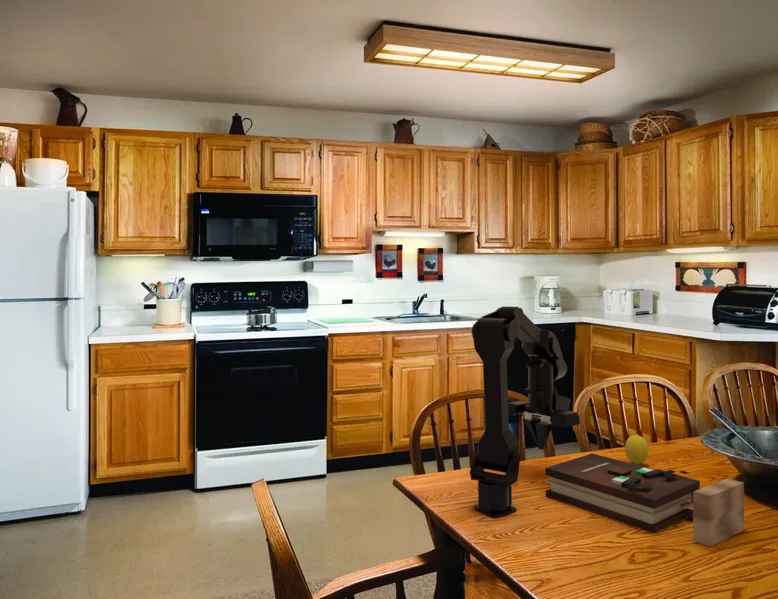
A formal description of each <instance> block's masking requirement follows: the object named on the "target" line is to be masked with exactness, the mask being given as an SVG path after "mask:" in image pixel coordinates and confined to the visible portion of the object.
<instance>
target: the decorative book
mask: <svg viewBox="0 0 778 599" xmlns="http://www.w3.org/2000/svg"><path fill="white" fill-rule="evenodd" d="M676 473H677V470H673V469H669V470H668V469H667V470H662V469H659V468H656V469H655V468H651V467H648V466H642V465H641V464H639V465H636V464H634V463H633V462H627V461H625V460H624V461H623V460H619V459H616V458H612V457H608V456H603V455H599V454H595V453H589V454H586V455H582V456H580V457H576V458H572V459H569V460H566V461H563V462H559V463H557V464H553V465H550V466H546V467H545V476H547V477H550V479H549V480H546V481H544V482H545V483H548V484H550V488H549V489H546V490H545V497H547V498H550V499H551V500H555V501H558V502H561V503H565V504H567V505H569V506H573V507H576V508H578V509H581V510H584V511H587V512H590V513H594V514H595V515H599V516H602V517H604V516H605V518H607V517H608V519H610V518H611V520H613V519H614V520H613V521H616V520H617V521H616V522H619V521H620V523H622V524H626V525H628V526H631V527H633V526H634V528H636V527H637V528H636V529H639V528H640V530H642V529H643V531H645V530H646V531H645V532H648V531H649V533H651V532H652V533H651V534H654V533H655V534H657V533H659V532H661V531H663V530H665V529H667V528H669V527H671V526H674V525H675V524H677V522H678V523H679V521H680V522H682V521H684V520H686V519H688V518H690V517H692V516H693V492H694V491H696V490H699V489H701V481H700V480H699V479H694V478H690V477H686V476H682V475H679V474H676ZM678 473H680V474H683V475H687V474H690V473H691V472H689V471H686V470H680V471H678ZM691 515H692V516H691ZM689 516H690V517H689ZM687 517H688V518H687ZM685 518H686V519H685ZM683 519H684V520H683ZM681 520H682V521H681ZM668 526H669V527H668ZM666 527H667V528H666ZM662 529H663V530H662ZM660 530H661V531H660ZM658 531H659V532H658ZM656 532H657V533H656Z"/></svg>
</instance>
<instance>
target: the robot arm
mask: <svg viewBox="0 0 778 599" xmlns="http://www.w3.org/2000/svg"><path fill="white" fill-rule="evenodd" d="M471 336H472V339H473V341H472V342H473V348H474V350H475V352H476V353H477V355H478V357H479V358H480V360H481V361H482V373H483V374H482V377H483V399H484V402H483V403H484V404H483V406H484V431H483V433H482V435H481V437H480V438H479V440H478V442H477V450H476V454H475V456H474V459H473V461H472V465H471V467H470V469H469V476H470V480H471V481H477V493H478V494H477V497H478V498H477V500H478V504H475V505H473V506H472V507H473V509H474V510H476V511H478V512H479V513H482V514H484V515H487V516H488V517H491V518H494V519H495V518H499V517H501V516H504V515H508V514H511V513H513V512H516V511H517V507H514V506H512V505H513V504H512V503H513V501H512V500H513V499H512V498H513V496H512V495H513V493H512V490H513V489H512V488H513V487H512V485H514V484H516V483H517V482H518V479H519V473H520V464H521V456H520V450H519V441H520V438H519V436H518V435H517V434H515V433H512V431H511V429H510V424H509V423H510V422H509V416H511V417H512V416H513V417H514V416H516V415H517V413H521V414H523V415H524V416H523V417H524V418H522V422H523V423H524V424H525V425H526V427H527V429H528V430H529V432H530V434H531V436H532V439H533V441H534V442H535V444H536V447H537V449H539V450H544V449H545V447H546V444H547V442H548V439H549V436H550V434H551V431H552V430H553V428H554V427H558V428H564V429H565V428H569V427H573V426H577V425H580V424H581V416H580V415H579V413H578V412H577V411H573V410H569V409H570V403H571V399H570V398H568V397H566V396H563V395H559V394H558V390H557V389H558V388H555V387H554V381H556V380H558V379H561V378H563V377H564V376H565V375H566V374H567V372H568V365H567V363H566V361H565V360H564V359H563V358H564V356H563V353H562V350H561V347H560V343H559V340H558V338H557V337H556V335H555V333H554V332H553V331H550V330H547V329H541V328H539V327H538V326H537V325H536V324H535V323H534V321H532V320H531V318H529V317H528V316H527V315H526V314H525V313H524V310H523V308H522V307H519V306H504V305H503V306H500V307H498V308H497V309H495V311H493V312H490V313H487V314H485V315H483V316H481V317H480V318H478V319H477V321H476V322H474V323H473V325H472V327H471ZM517 338H518V340H520V342H521V349H522V350H523V352H524V353H525V354H526V355H527V357H529V358H530V359H529V360H528V361H527V362H526V364H525V367H526V368H527V369H528V373H527V374H528V381H527V382H528V387H527V388H524V393H525V394H528V401H524V400H517V401H511V402H509V395H508V392H509V391H508V369H507V368H508V367H507V362H508V361H507V360H508V358H509V356H510V355H511V354H512V351H513V349H514V348H515V340H516V339H517ZM485 470H487V471H485ZM491 471H492V472H491ZM496 472H498V473H496ZM501 473H504V474H501Z"/></svg>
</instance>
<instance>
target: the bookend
mask: <svg viewBox="0 0 778 599" xmlns="http://www.w3.org/2000/svg"><path fill="white" fill-rule="evenodd" d="M692 521H693V522H692V525H693V526H692V541H693V542H694V541H696V542H695V543H697V542H699V543H698V544H700V543H701V544H700V545H702V544H704V545H703V546H705V545H706V547H708V546H709V547H708V548H712V547H713V546H715V545H717V544H720V543H721V542H724V541H725V540H727V539H730V538H731V537H733V536H735V535H737V534H739V533H741V532H743V531H745V482H744V481H739V480H735V479H731V478H729V477H728V478H725V479H722V480H720V481H717V482H715V483H711V484H709V485H706V486H705V487H702V488H701V487H700V489H699V490H696V491H694V492H693V515H692Z"/></svg>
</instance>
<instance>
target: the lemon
mask: <svg viewBox="0 0 778 599" xmlns="http://www.w3.org/2000/svg"><path fill="white" fill-rule="evenodd" d="M649 451H650V450H649V445H648V443H647V440H646V439H645V438H644V437H643V436H641V435H639V434H637V433H635V434H634V435H631V436H630V437H628V438H627V439H626V441H625V446H624V452H625V456H626V458H627V459H628V460H629V462H630V463H632V464H636V465H641V464H643V463H645V462H646V461H647V460H648V457H649Z"/></svg>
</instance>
